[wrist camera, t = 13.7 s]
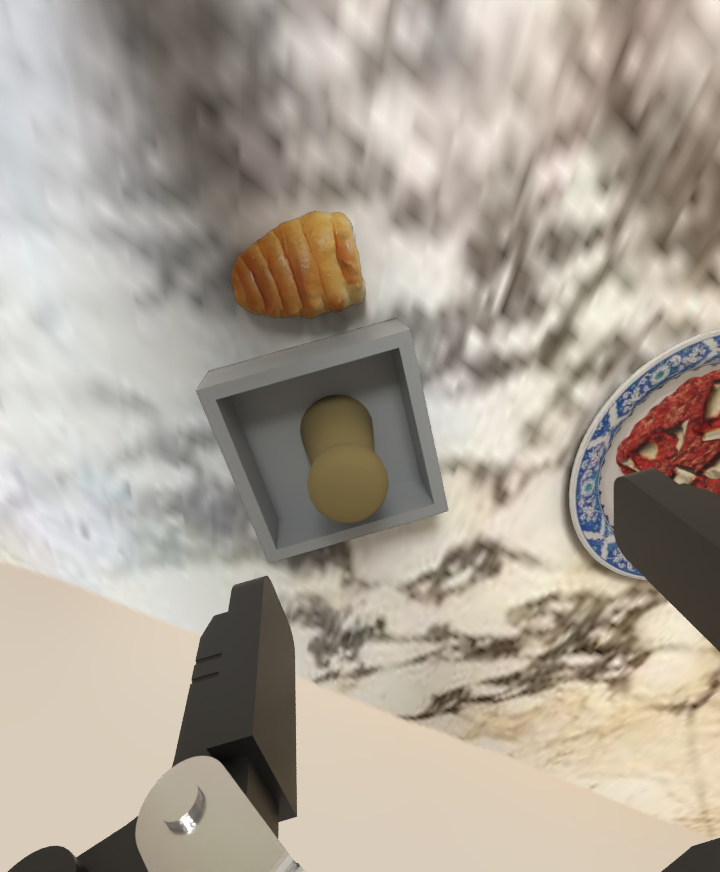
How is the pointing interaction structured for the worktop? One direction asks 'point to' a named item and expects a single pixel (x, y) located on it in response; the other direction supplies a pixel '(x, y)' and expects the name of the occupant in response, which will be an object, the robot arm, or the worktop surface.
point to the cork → (343, 459)
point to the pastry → (301, 269)
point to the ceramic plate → (649, 439)
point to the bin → (282, 445)
